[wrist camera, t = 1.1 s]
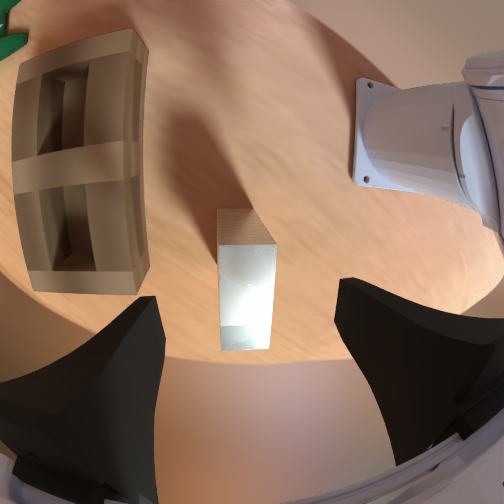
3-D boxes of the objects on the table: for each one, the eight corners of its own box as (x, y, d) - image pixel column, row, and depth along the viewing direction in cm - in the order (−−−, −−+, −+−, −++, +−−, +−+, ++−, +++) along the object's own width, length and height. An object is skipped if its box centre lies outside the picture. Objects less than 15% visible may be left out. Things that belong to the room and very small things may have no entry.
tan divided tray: (148, 50, 13) (133, 27, 9) (149, 266, 18) (136, 295, 14) (49, 74, 12) (19, 63, 8) (58, 266, 17) (33, 291, 13)
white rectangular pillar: (253, 208, 18) (277, 244, 11) (250, 284, 20) (268, 348, 13) (216, 208, 17) (218, 245, 11) (217, 285, 19) (221, 350, 13)
